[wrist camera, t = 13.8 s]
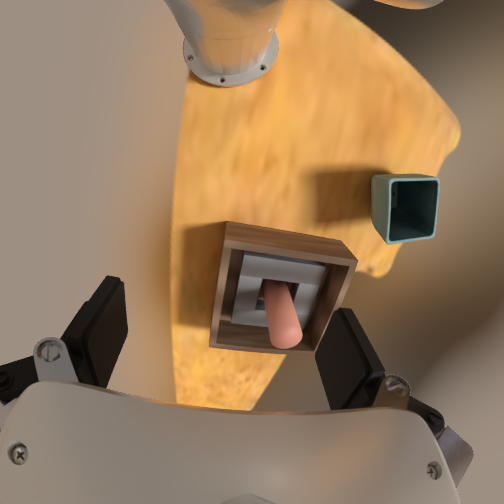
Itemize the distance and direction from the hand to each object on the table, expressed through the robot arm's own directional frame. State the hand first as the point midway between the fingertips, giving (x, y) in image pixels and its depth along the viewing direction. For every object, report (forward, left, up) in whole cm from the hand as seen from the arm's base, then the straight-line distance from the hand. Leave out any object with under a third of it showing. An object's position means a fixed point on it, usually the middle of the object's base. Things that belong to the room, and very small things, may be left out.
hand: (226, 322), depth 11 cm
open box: (+14, +9, -28) cm, 33 cm away
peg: (+14, +9, -27) cm, 32 cm away
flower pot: (-4, +23, -29) cm, 37 cm away
